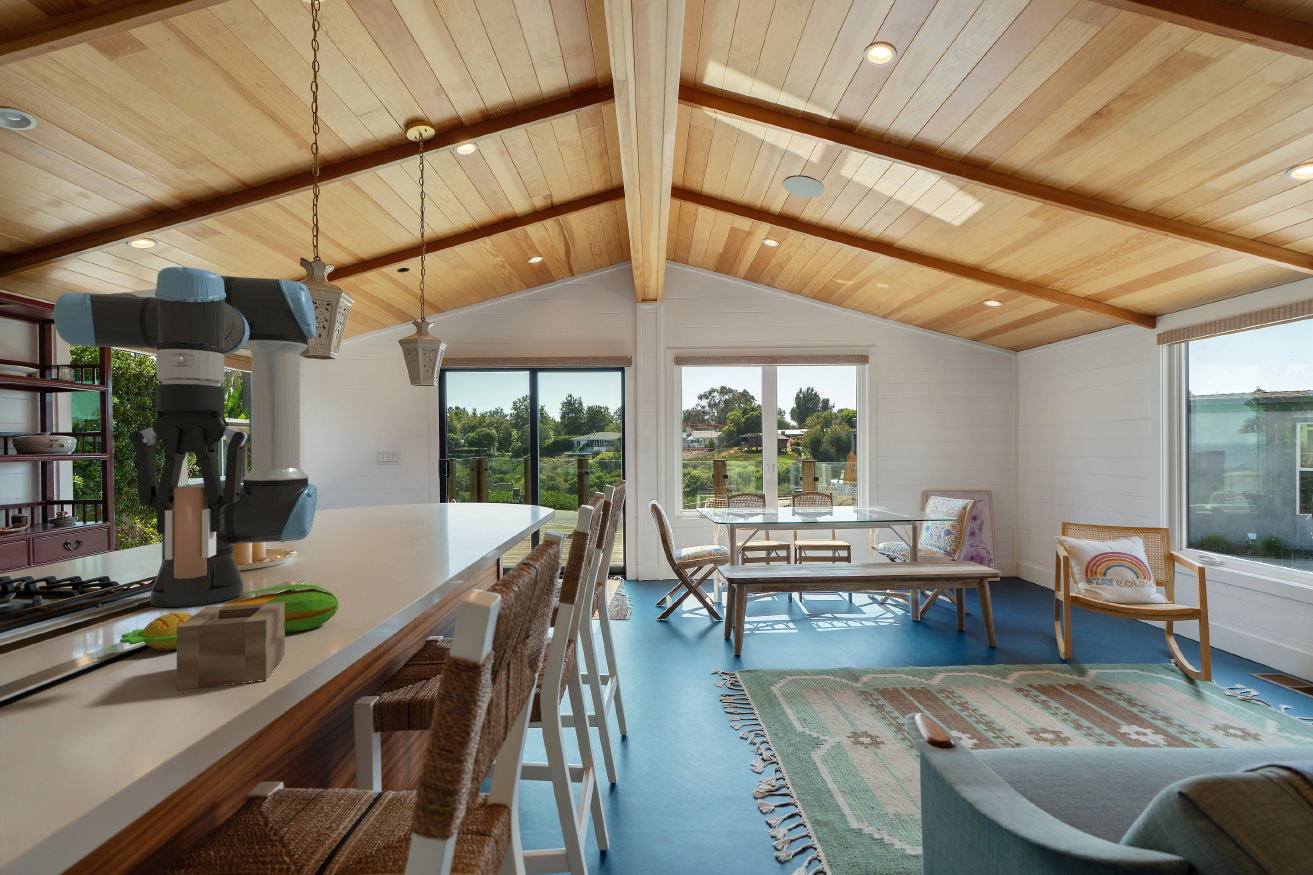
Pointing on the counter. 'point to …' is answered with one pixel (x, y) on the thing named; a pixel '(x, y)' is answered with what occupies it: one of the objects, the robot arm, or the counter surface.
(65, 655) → the counter surface
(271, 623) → the socket block
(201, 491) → the peg
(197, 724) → the counter surface
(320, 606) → the corn
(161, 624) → the toy pineapple
